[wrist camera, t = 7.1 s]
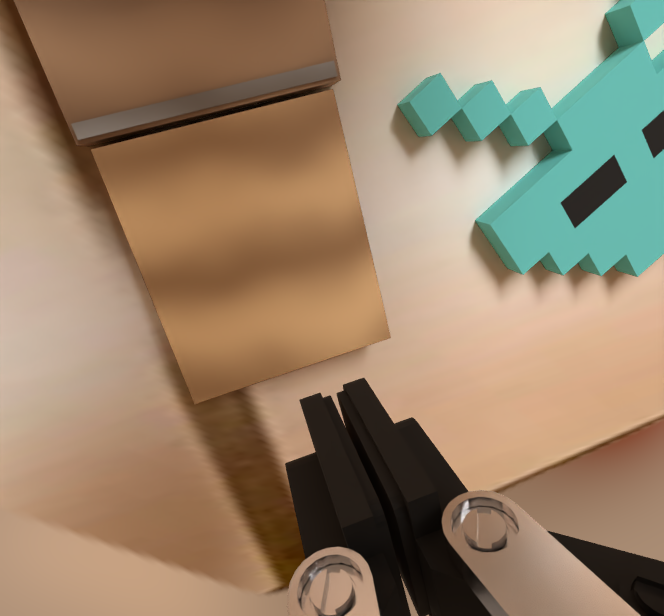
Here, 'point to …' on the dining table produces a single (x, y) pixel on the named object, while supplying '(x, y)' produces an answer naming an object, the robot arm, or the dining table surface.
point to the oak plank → (249, 241)
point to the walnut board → (174, 58)
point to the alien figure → (574, 156)
